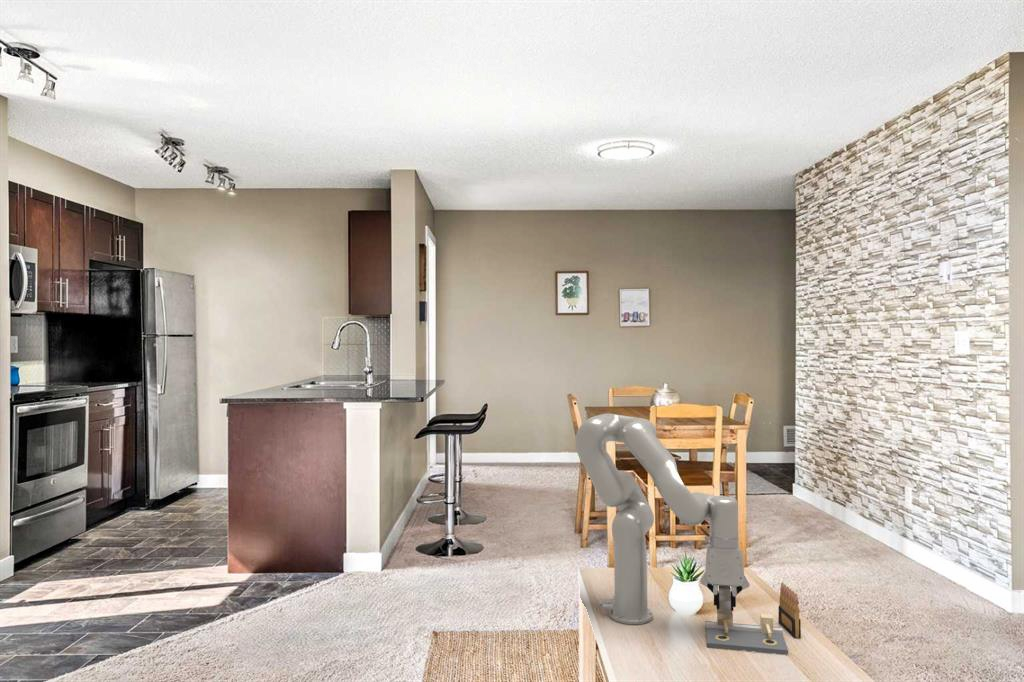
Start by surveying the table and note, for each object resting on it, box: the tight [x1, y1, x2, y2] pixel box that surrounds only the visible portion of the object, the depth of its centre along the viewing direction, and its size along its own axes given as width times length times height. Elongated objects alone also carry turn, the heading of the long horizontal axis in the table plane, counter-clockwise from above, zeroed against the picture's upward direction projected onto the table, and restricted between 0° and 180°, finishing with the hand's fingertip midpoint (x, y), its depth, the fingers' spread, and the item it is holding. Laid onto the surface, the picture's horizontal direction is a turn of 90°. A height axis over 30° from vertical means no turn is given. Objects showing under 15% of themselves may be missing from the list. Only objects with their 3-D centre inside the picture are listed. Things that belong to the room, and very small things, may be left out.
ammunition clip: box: [777, 581, 802, 639], centre depth 192 cm, size 11×2×12 cm, turn 1°
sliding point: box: [716, 585, 734, 636], centre depth 188 cm, size 4×9×10 cm, turn 166°
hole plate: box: [705, 612, 789, 655], centre depth 186 cm, size 20×15×6 cm
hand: (724, 608), depth 191 cm, fingers closed on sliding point, 3 cm apart
